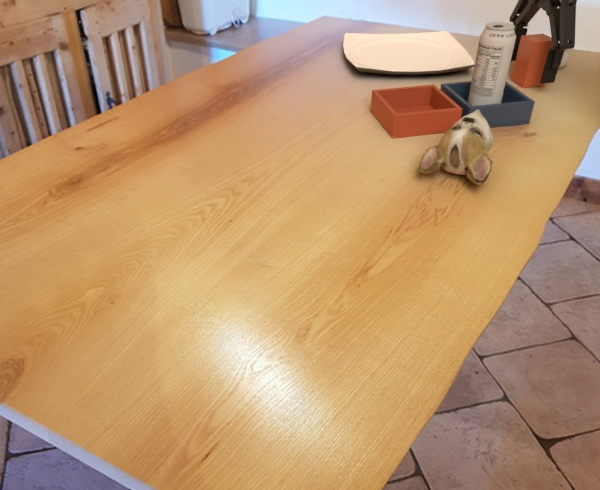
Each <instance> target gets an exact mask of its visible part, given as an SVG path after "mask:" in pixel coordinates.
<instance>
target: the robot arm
mask: <svg viewBox="0 0 600 490" xmlns="http://www.w3.org/2000/svg"><path fill="white" fill-rule="evenodd" d="M577 2H578V0H517V2H516V4H515V7H514V8H513V10H512V13H511V14H510V15H509V23H512V24H513V25H515V28H514V31H515V34H516V40H515V44H514V49H513V53H512V57H511V62H515V61H516V57H517V52H518V48H519V44H520V40H521V36H522V35H528V28H527V27H529V23H530V21H531V20H532V19H533V18H534V17H535V16H536V15H537V13H538V12H539V11H540V10H541V9H542V10H543V11H544V12H545V14H546V16H548V20H549V28H550V29H549V30H550V37H551V38H552V45H553V46H552V47H551V48H550V49H549V52H548V55H547V59H546V62H545V66H544V70H543V73H542V77H541V80H540V83H542V84H544V83H545V84H553V83H555V80H556V77H557V74H558V71H559V68H558V67H559V66H560V64H561V61H562V58H563V54H564V51H565V50H573V49H574V48H575V46H576V20H577V19H576V17H577Z"/></svg>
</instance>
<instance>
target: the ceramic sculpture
mask: <svg viewBox="0 0 600 490" xmlns="http://www.w3.org/2000/svg"><path fill="white" fill-rule="evenodd" d="M494 141H495V138H494V135H493V132H492V129H491V128H490V126H489V124H488V123H487V120H486V119H485V118H484V117H483V116H482V114H481V112H480V110H479V109H477V110H476V111H474V112H473V113H471V114H468V115H466V116H464V117H462V118H461V119H460V120H459V121H457V122H456V123H455V124H454V125H453V127H452V128H450V129H449V130H448V131H447V132H445V133H443V136H442V138H441V139H440V141H439V142H438V144H437V145H435V146H432V147H430V148H427V150H426V152H425V153H424V154H422V157H421V160H420V163H419V166H418V169H417V173H418V174H427V175H428V174H435V173H437V172H438V171H440V169H441V168H442V169H443V170H444V171H445V172H447V173H450V174H455V175H460V176H466V178H467V180H469V181H470V182H471V183H472V184H475V185H477V186H480V185H482V184H483V183H486V181H487V180H488V178H489V176H490V174H491V171H492V164H493V161H492V159H491V157H490V156H489V155H488V154H487V153H488V152H489V151H490V149H492V147H493V145H494Z"/></svg>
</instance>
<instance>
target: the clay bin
mask: <svg viewBox="0 0 600 490" xmlns="http://www.w3.org/2000/svg"><path fill="white" fill-rule="evenodd" d="M370 97H371V98H370V112H371V114H372V115H373V116H374V117H375V119H376V120H377V121H378V122H379V123H380V125H381V126H382V127H383V129H384V130H385V131H386V133H388V135H389V136H390V137H391V138H392V139H397V138H405V137H406V138H408V137H416V136H417V137H418V136H424V135H425V136H426V135H436V134H445V133H446V132H447V131H448V130H449V129H450V128H452V127H453V125H454V124H455V123H456V122H457V121H459V120H460V119H461V115H462V108H461V107H460V106H459V105H457V104H456V103H455V102H454V101H453V100H452V99H451V98H449V97H448V96H447V95H446V94H445V93H444V92H442V91H441V90H440V88H439V87H438V86H437V85H436V84H434V83H433V84H424V85H423V84H422V85H413V86H400V87H391V88H381V89H380V88H379V89H373V90H371V96H370Z"/></svg>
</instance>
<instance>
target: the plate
mask: <svg viewBox="0 0 600 490" xmlns="http://www.w3.org/2000/svg"><path fill="white" fill-rule="evenodd" d="M342 49H343V55H344V57H345V59H346V61H347V62H348V63H349V64H350V65H351V66H352V67H353V68H354V69H356V70H357V71H358V72H361V73H368V74H369V73H371V74H381V75H390V76H421V75H439V74H446V73H447V74H448V73H453V72H459V71H460V72H461V71H467V70H469V69H472V68H474V66H475V61H474V59H473V58H472V57H471V55H470V54H469V53H468V51H467V50H466V49H465V47H464V46H463V45H462V44H461V43H460V42H459V41H458V40H457V39H456V38H455V37H454V36H453V35H452V34H451V33H450V32H449V31H448V30H441V31H439V30H438V31H426V32H424V31H423V32H411V33H410V32H409V33H406V32H405V33H361V32H360V33H359V32H357V33H356V32H345V33H344V36H343V43H342Z"/></svg>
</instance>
